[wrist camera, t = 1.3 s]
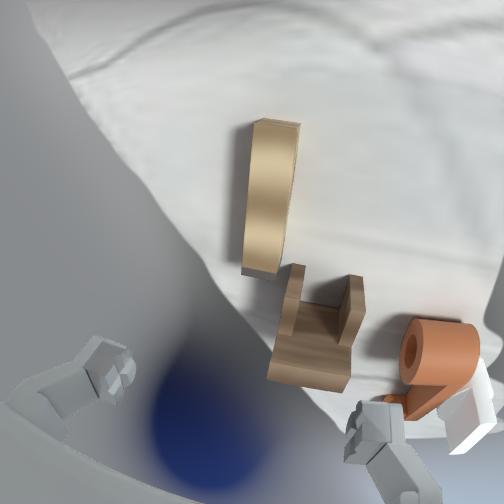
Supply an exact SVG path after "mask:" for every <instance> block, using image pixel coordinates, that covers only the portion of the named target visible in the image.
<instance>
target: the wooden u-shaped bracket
mask: <svg viewBox="0 0 504 504" xmlns="http://www.w3.org/2000/svg"><path fill="white" fill-rule="evenodd" d="M305 268H306V266H304V265H299V264H294V263H292V267H291V271H290V276H289V280H288V284H287V288H286V293H285V297H284V302H283V307H282V312H281V317H280V323H279V328H278V333H277V337H276V341H275V345H274V349H273V353H272V357H271V361H270V366H269V370H268V375H267V380H271V381H276V382H281V383H285V384H291V385H296V386H301V387H307V388H312V389H318V390H324V391H330V392H337V393H342V392H343V391H344V389H345V387H346V385H347V383H348V381H349V379H350V377H351V347H352V344H353V342H354V340H355V337H356V335H357V333H358V330H359V328H360V326H361V323H362V321H363V318H364V316H365V313H366V308H365V296H364V285H363V277H360V276H355V275H350V276H349V279H348V282H347V285H346V289H345V292H344V295H343V298H342V301H341V304H340V307H339V308H333V307H328V306H323V305H317V304H312V303H307V302H302V301H300V297H301V292H302V286H303V280H304V274H305Z"/></svg>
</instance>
